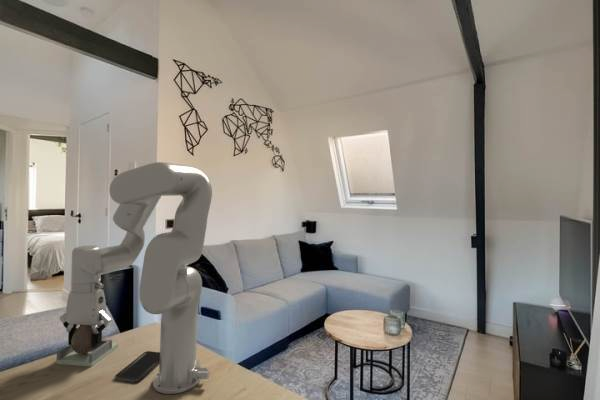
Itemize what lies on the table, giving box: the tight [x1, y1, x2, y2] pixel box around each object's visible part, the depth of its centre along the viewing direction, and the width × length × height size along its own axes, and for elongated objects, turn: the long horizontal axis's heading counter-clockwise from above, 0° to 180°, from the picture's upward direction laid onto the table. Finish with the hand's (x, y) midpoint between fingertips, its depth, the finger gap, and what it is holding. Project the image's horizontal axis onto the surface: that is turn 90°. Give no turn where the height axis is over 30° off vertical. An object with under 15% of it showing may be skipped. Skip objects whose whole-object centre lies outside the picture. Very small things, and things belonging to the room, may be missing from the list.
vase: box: [71, 325, 96, 354], centre depth 97 cm, size 7×7×9 cm
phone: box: [114, 350, 160, 384], centre depth 94 cm, size 8×1×15 cm
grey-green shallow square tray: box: [56, 337, 119, 368], centre depth 99 cm, size 11×12×4 cm
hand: (85, 343), depth 97 cm, fingers closed on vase, 6 cm apart
